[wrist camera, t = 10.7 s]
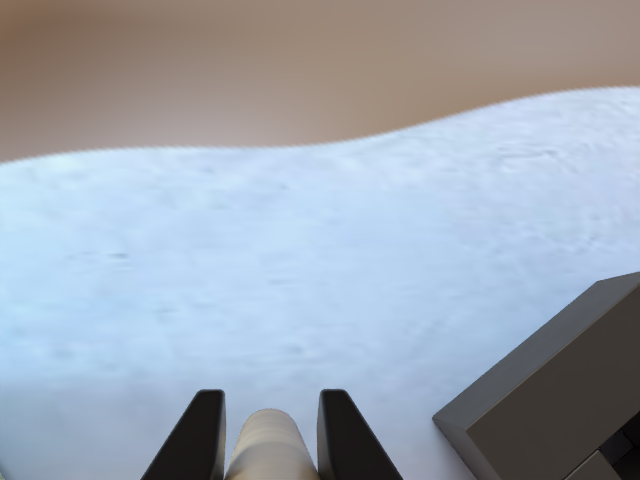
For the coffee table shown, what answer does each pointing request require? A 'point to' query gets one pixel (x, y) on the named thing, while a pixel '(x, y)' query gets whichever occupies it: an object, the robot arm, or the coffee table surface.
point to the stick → (271, 450)
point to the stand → (558, 395)
